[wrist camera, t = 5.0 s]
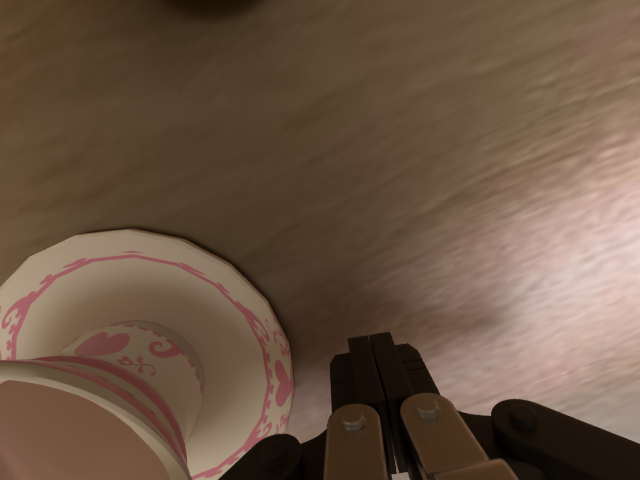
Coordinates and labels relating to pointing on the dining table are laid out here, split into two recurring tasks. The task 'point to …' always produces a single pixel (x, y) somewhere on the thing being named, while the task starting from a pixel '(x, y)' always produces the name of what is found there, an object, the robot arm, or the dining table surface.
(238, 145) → the dining table surface
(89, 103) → the dining table surface
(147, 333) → the teacup
